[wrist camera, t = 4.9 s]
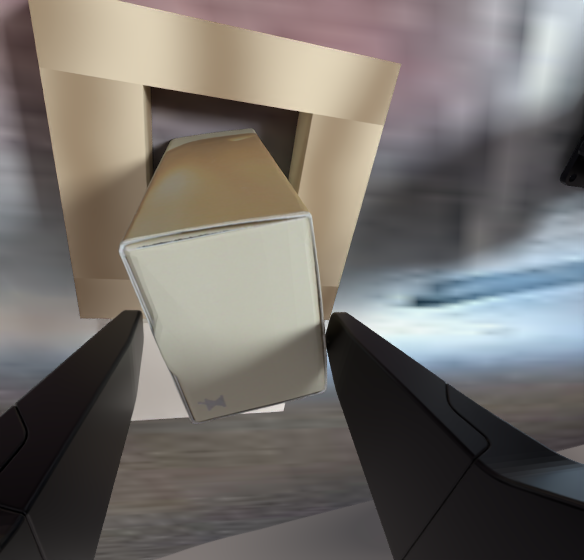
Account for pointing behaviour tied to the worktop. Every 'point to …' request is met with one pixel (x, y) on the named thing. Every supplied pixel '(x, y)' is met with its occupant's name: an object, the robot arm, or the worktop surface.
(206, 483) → the worktop surface
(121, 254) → the skincare box
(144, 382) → the tile
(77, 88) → the frame
